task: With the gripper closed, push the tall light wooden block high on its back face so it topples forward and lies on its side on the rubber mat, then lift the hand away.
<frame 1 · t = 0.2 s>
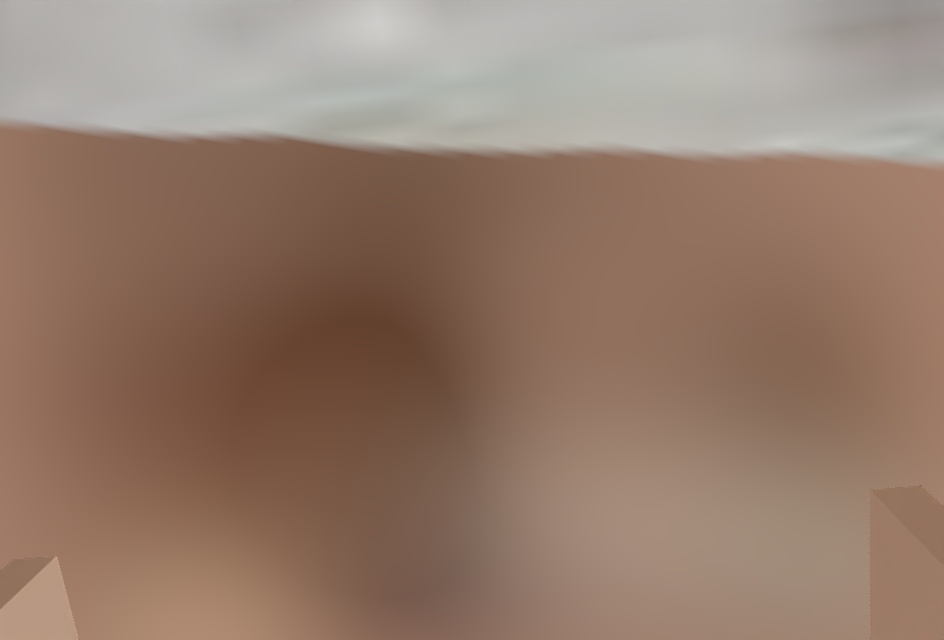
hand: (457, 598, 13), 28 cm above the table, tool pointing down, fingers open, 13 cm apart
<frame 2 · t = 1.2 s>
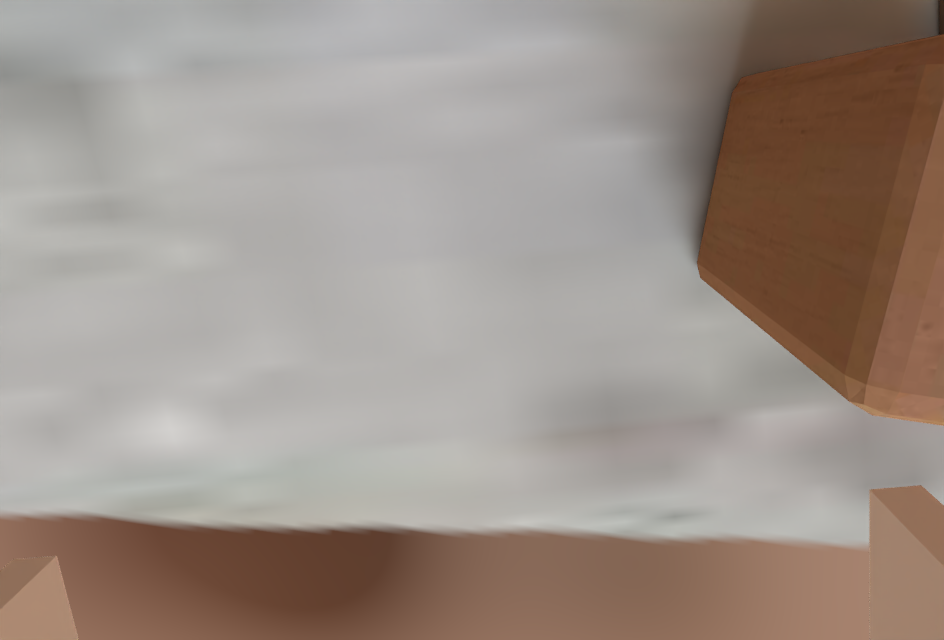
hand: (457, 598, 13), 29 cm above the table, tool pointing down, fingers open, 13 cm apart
wooden block: (810, 192, 39), on the table
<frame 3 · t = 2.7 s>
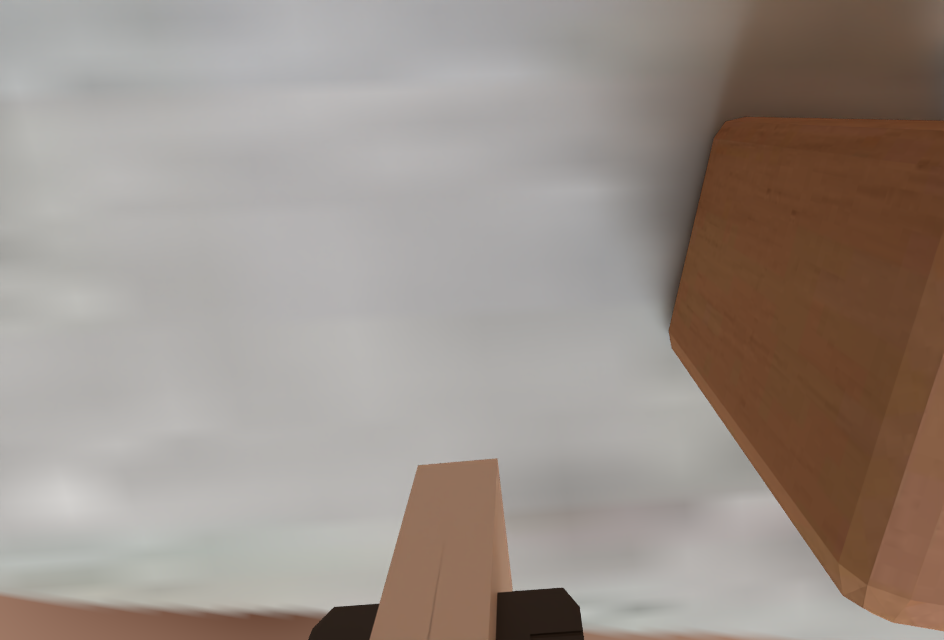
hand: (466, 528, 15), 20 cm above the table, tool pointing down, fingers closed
wooden block: (801, 253, 34), on the table
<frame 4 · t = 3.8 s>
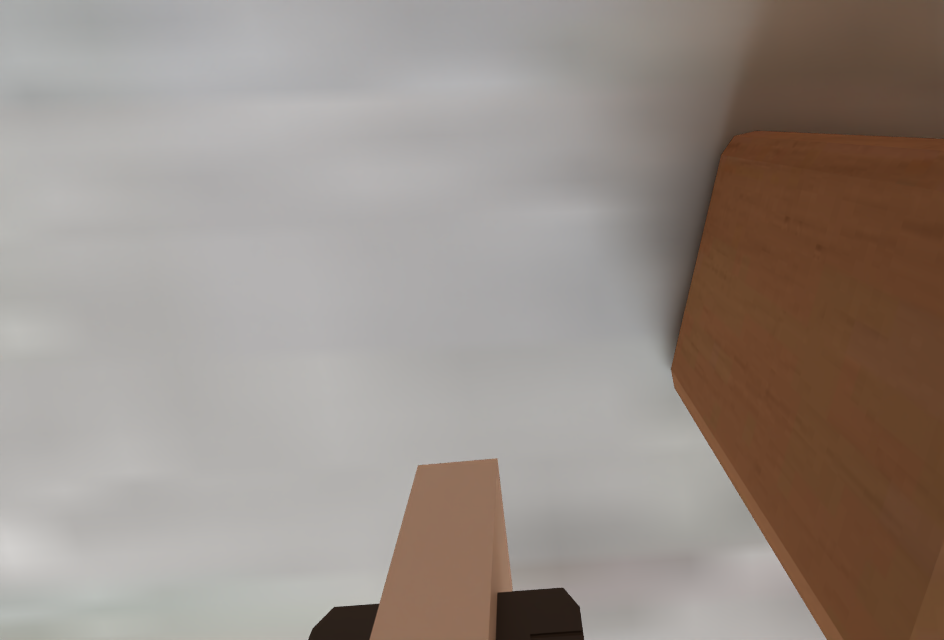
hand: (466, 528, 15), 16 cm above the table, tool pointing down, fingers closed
wooden block: (818, 282, 30), on the table
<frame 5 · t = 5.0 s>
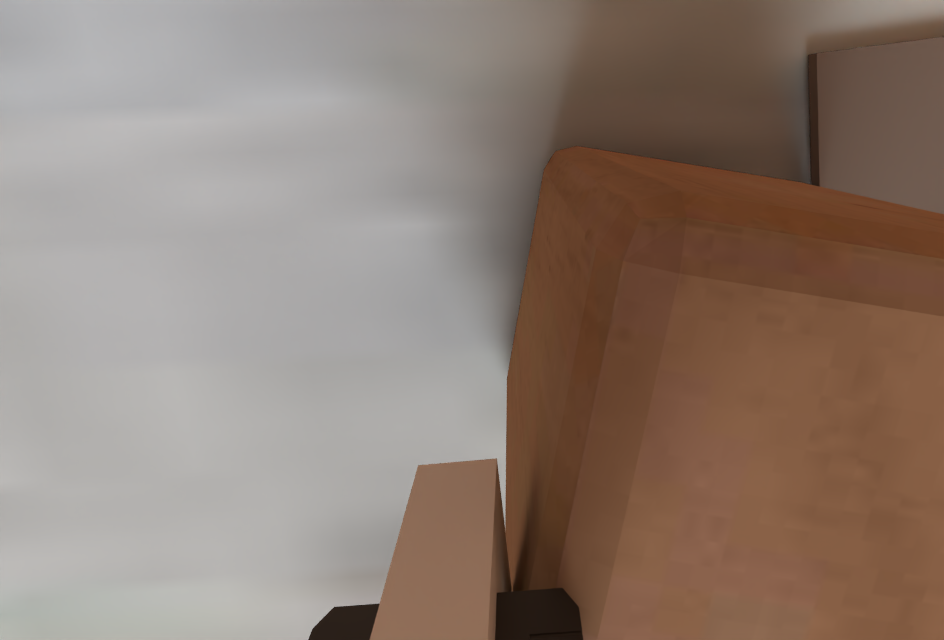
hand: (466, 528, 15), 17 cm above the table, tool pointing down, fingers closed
wooden block: (652, 292, 31), on the table, touching gripper
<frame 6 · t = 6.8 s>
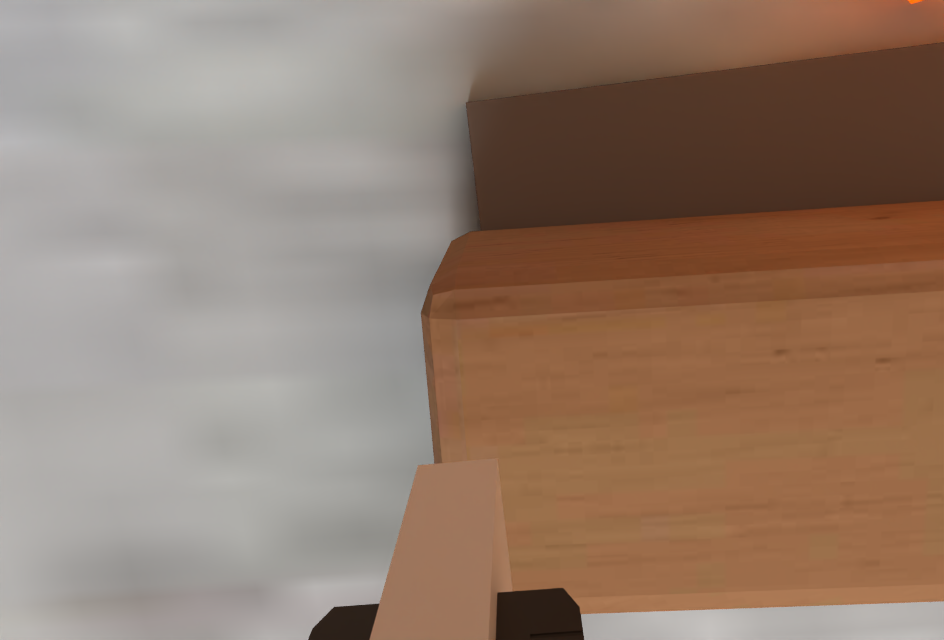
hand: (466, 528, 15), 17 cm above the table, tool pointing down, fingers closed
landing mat: (753, 286, 31), on the table
wooden block: (439, 403, 26), point 6 cm above the table, touching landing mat
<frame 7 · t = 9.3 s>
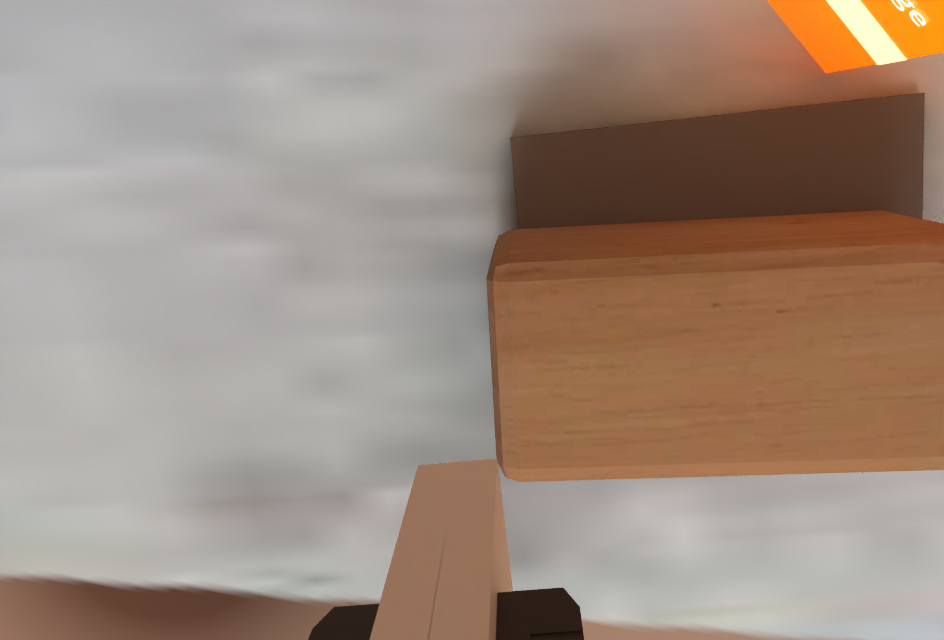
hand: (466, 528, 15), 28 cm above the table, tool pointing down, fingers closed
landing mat: (715, 272, 42), on the table
wooden block: (490, 347, 38), point 6 cm above the table, touching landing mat
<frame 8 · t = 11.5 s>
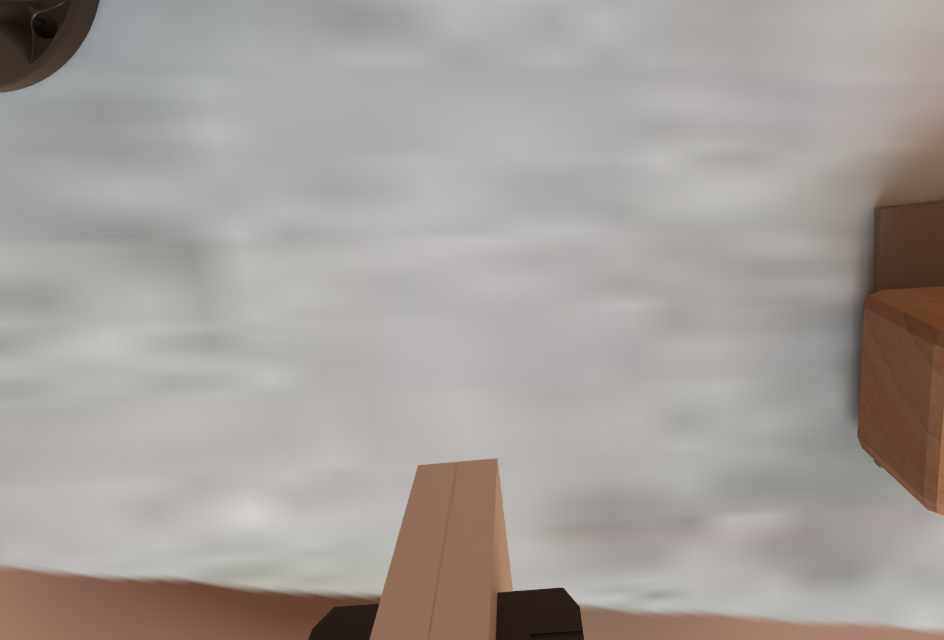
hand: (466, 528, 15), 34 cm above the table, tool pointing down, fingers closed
wooden block: (887, 396, 44), point 6 cm above the table, touching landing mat
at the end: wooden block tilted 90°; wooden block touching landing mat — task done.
